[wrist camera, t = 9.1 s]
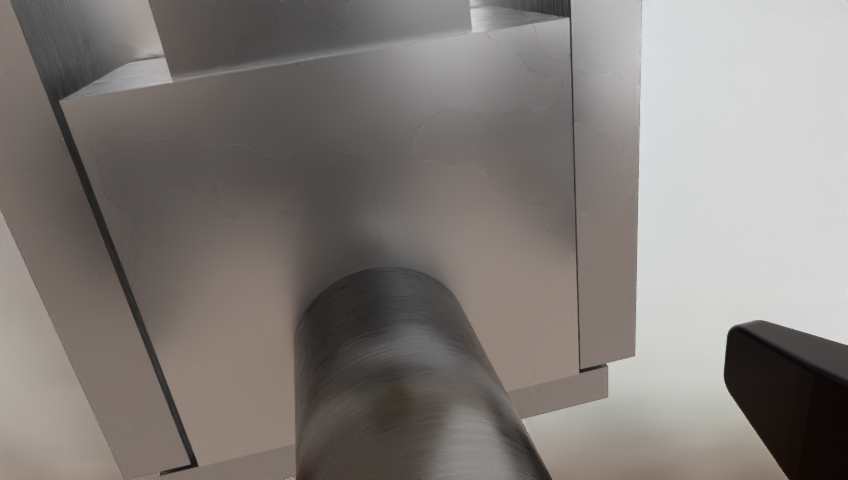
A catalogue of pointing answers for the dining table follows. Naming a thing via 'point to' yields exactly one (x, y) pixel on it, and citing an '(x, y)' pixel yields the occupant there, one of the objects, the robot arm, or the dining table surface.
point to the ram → (346, 227)
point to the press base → (104, 275)
